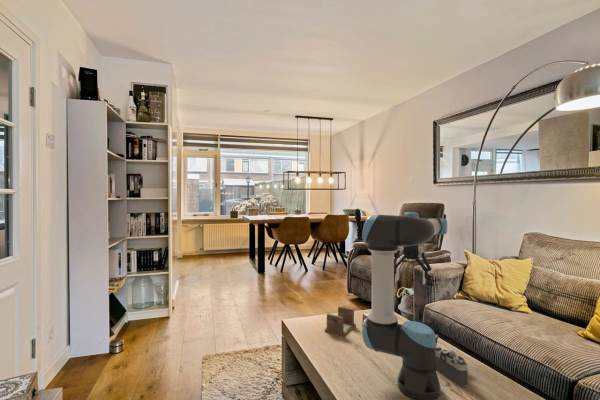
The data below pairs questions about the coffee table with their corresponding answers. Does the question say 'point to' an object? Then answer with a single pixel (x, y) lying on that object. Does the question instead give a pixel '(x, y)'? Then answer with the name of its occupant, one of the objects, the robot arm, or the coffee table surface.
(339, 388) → the coffee table surface
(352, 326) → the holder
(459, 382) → the camera
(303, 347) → the coffee table surface
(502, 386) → the coffee table surface
